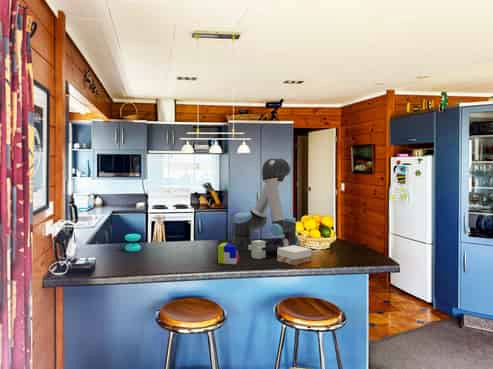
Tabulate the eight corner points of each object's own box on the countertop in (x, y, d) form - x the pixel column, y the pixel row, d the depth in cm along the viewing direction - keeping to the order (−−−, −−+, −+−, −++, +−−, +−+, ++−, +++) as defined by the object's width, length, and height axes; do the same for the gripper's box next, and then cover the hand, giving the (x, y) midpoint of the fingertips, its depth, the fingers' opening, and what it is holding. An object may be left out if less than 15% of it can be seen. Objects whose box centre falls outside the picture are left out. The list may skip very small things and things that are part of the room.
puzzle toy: (235, 264, 234) (235, 247, 233) (218, 263, 236) (218, 246, 235) (239, 260, 243) (239, 243, 243) (222, 259, 245) (222, 242, 245)
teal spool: (124, 233, 268) (139, 233, 272) (124, 249, 269) (139, 248, 273) (125, 236, 259) (141, 235, 263) (125, 252, 260) (141, 251, 263)
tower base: (277, 261, 242) (277, 255, 242) (293, 258, 252) (293, 251, 251) (294, 266, 232) (295, 259, 232) (310, 262, 241) (311, 255, 241)
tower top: (277, 254, 242) (277, 248, 242) (293, 251, 251) (293, 245, 251) (294, 259, 232) (294, 252, 232) (311, 255, 241) (311, 249, 240)
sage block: (251, 257, 250) (251, 241, 249) (258, 255, 254) (258, 239, 253) (258, 259, 246) (258, 242, 245) (265, 257, 250) (265, 241, 249)
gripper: (291, 252, 255) (264, 258, 239) (268, 246, 269) (242, 251, 254) (291, 240, 254) (264, 245, 239) (268, 235, 269) (242, 239, 253)
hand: (253, 248), depth 246 cm, fingers open, 7 cm apart
